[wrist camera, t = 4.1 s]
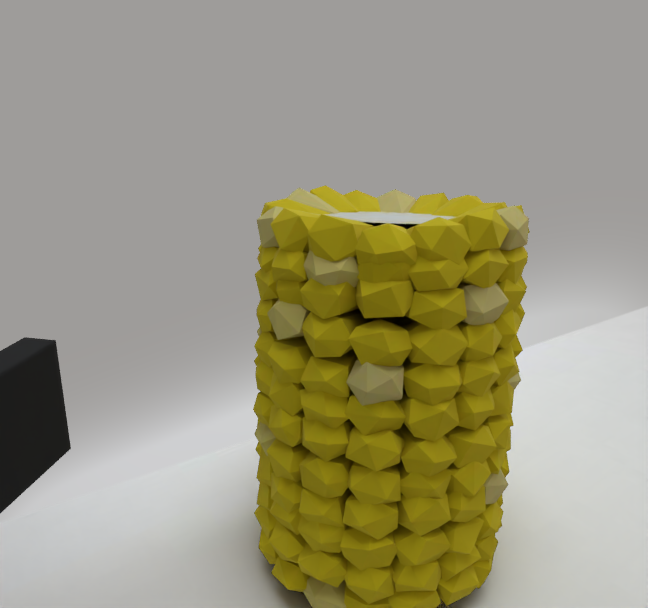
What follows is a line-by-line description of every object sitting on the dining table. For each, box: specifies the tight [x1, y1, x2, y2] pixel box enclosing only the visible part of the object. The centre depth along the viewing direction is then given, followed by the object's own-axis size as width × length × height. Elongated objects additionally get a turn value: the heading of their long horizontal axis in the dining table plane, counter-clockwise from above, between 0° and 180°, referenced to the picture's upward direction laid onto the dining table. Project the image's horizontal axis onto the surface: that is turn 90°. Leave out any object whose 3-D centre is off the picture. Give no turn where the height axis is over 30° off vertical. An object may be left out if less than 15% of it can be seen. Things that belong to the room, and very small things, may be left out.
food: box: [253, 186, 529, 608], centre depth 22 cm, size 15×12×10 cm
